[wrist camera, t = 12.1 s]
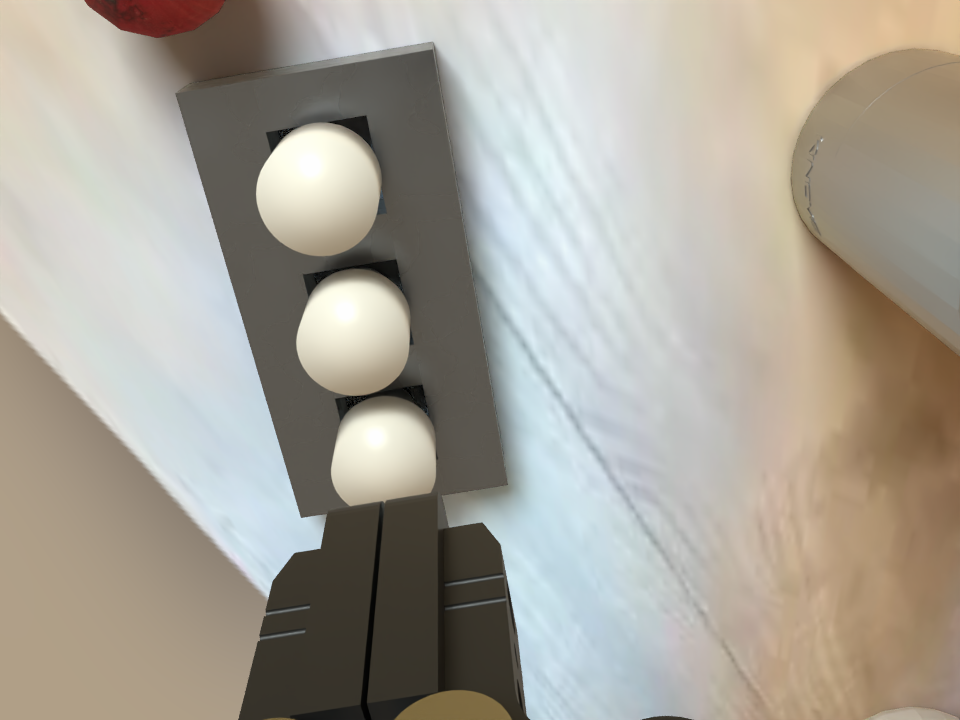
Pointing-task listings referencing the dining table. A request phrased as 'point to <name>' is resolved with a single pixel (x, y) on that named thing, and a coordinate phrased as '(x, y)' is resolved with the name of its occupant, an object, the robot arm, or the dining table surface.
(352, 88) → the mount panel
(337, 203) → the knob near
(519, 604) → the dining table surface
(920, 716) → the cup
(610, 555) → the dining table surface
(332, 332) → the knob mid
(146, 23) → the onion
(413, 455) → the knob far
